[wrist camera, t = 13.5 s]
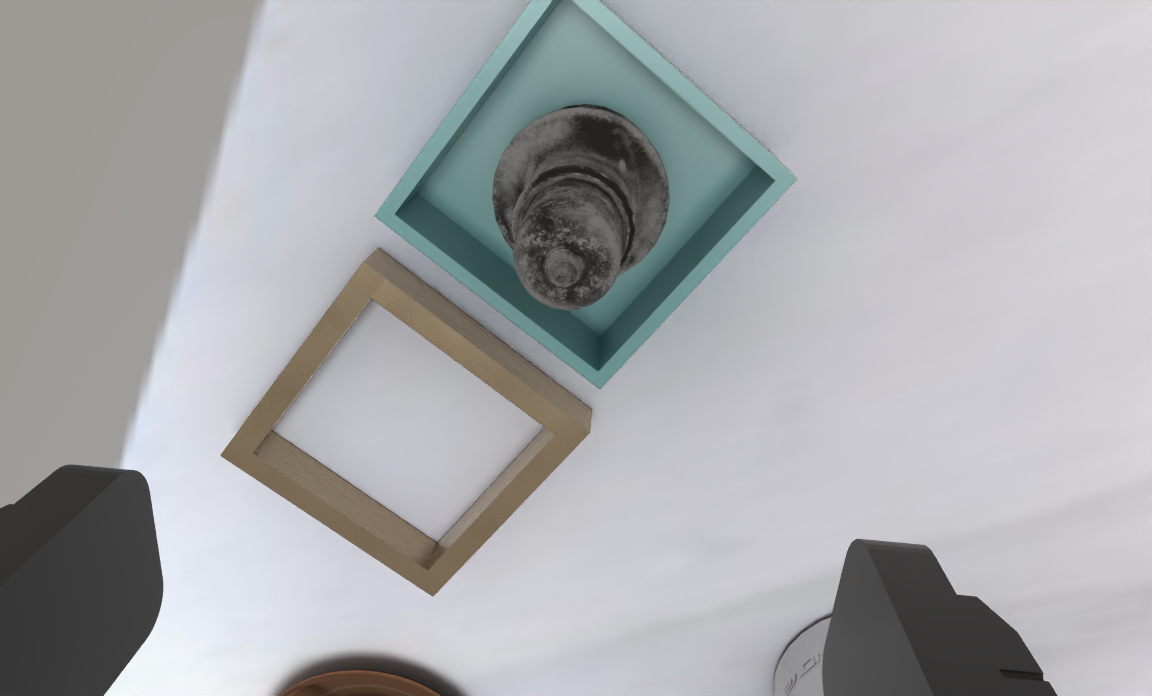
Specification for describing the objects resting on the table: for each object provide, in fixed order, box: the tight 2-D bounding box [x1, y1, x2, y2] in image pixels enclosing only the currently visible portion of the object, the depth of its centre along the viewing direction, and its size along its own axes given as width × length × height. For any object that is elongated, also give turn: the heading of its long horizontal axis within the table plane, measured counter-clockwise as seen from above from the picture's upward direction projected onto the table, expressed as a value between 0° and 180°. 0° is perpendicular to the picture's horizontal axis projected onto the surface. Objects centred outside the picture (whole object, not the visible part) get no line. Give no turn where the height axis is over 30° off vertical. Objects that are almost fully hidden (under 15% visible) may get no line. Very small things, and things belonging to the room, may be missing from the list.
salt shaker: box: [492, 104, 670, 310], centre depth 25 cm, size 6×6×12 cm
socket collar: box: [220, 248, 592, 596], centre depth 34 cm, size 11×11×2 cm
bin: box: [375, 0, 797, 389], centre depth 29 cm, size 10×10×4 cm
